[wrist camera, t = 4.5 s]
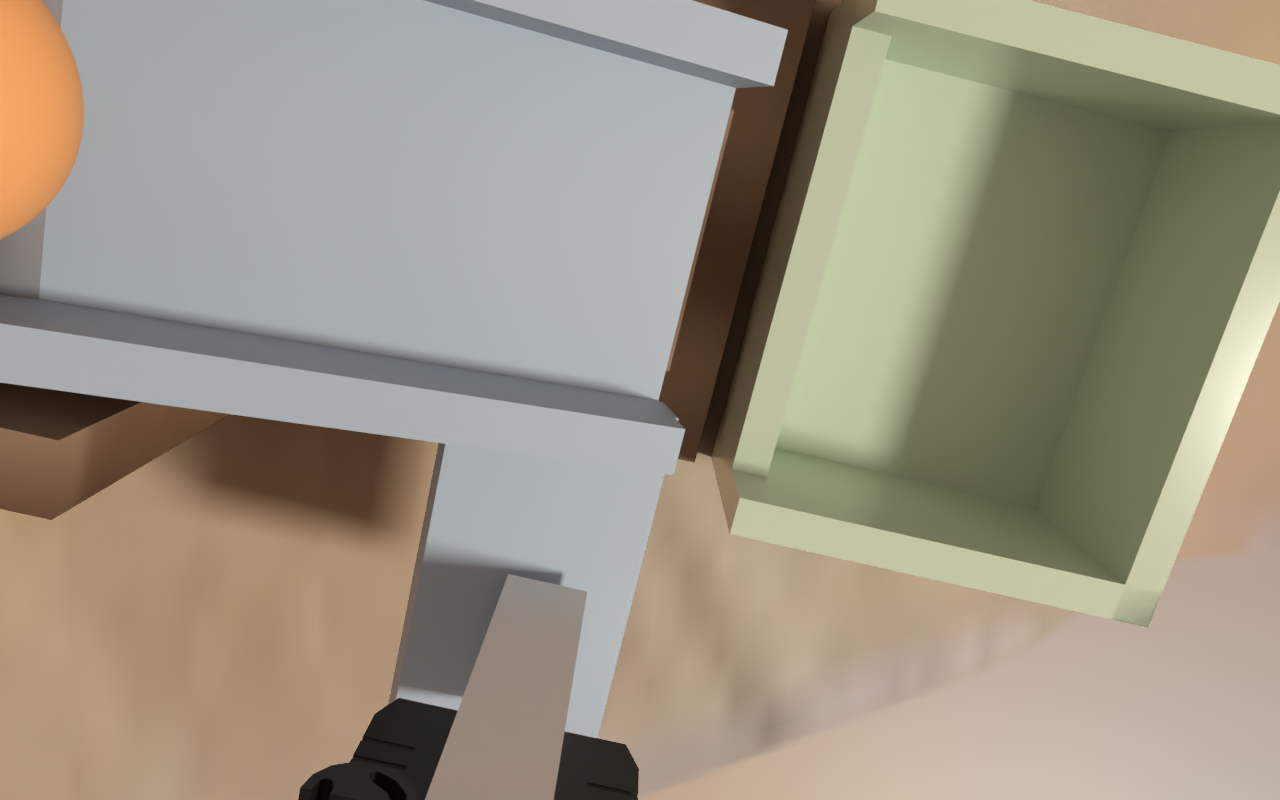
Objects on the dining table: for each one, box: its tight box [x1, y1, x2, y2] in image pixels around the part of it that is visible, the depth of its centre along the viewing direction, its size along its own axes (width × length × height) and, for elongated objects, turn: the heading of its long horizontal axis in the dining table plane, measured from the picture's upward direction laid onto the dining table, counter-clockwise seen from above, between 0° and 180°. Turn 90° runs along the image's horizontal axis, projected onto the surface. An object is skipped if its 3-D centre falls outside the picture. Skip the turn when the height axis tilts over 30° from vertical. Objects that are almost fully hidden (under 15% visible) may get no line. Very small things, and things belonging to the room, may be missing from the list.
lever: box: [0, 0, 788, 738], centre depth 13 cm, size 14×20×4 cm
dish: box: [712, 0, 1280, 627], centre depth 20 cm, size 11×9×5 cm
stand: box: [0, 0, 815, 520], centre depth 17 cm, size 11×23×11 cm, turn 77°
